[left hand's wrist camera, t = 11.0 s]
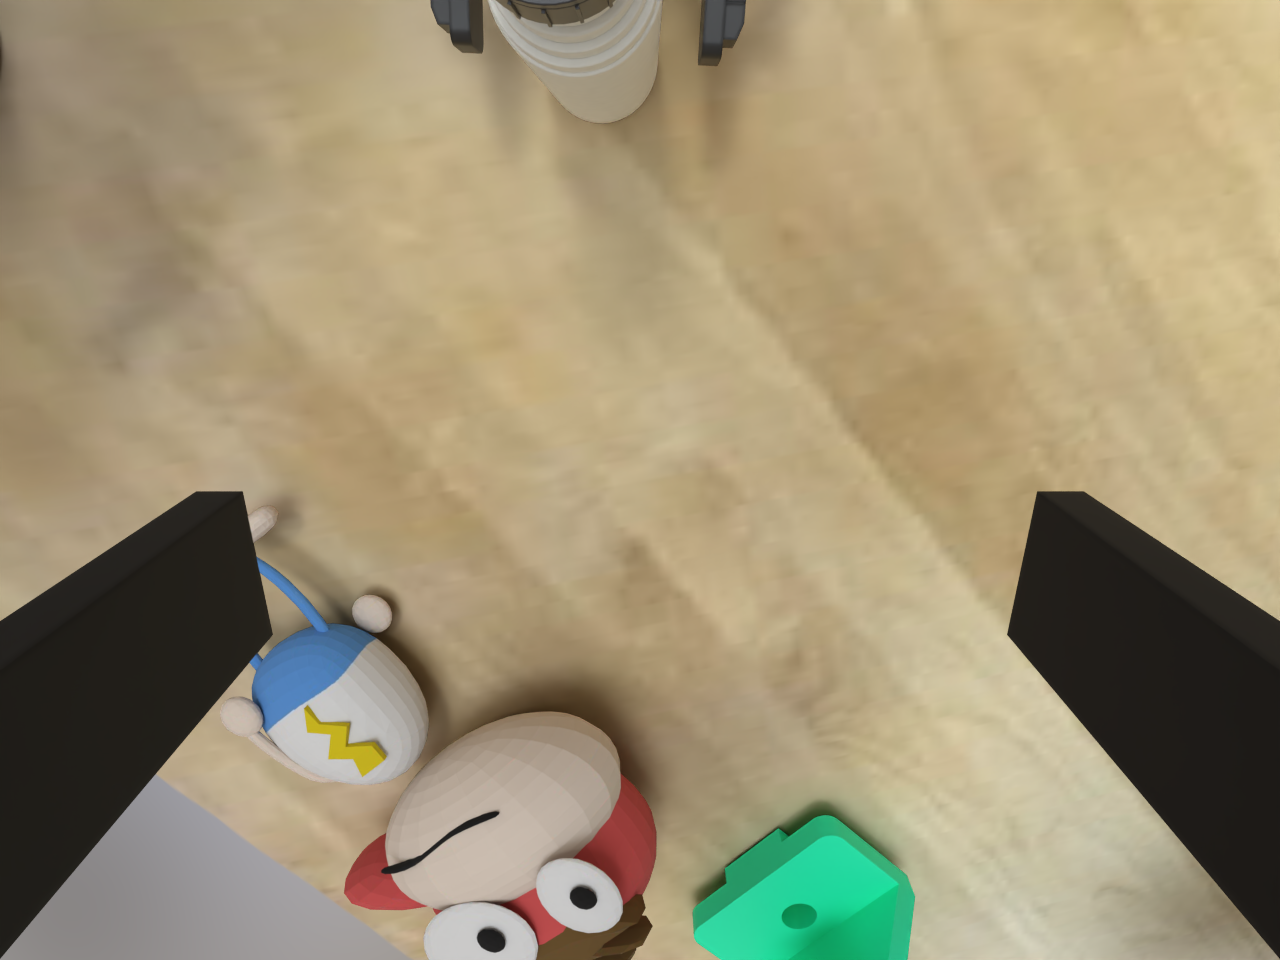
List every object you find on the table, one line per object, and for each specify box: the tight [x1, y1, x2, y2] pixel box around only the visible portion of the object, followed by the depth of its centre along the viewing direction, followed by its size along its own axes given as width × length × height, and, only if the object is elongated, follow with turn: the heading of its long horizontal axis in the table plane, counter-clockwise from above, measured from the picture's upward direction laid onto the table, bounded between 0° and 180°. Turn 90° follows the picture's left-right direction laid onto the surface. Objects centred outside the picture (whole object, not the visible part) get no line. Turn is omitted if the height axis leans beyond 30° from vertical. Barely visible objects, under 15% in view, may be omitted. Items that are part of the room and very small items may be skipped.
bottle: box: [488, 0, 663, 123], centre depth 23 cm, size 5×5×18 cm
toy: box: [220, 506, 656, 960], centre depth 40 cm, size 18×10×30 cm
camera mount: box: [693, 815, 915, 960], centre depth 43 cm, size 12×8×10 cm, turn 137°
